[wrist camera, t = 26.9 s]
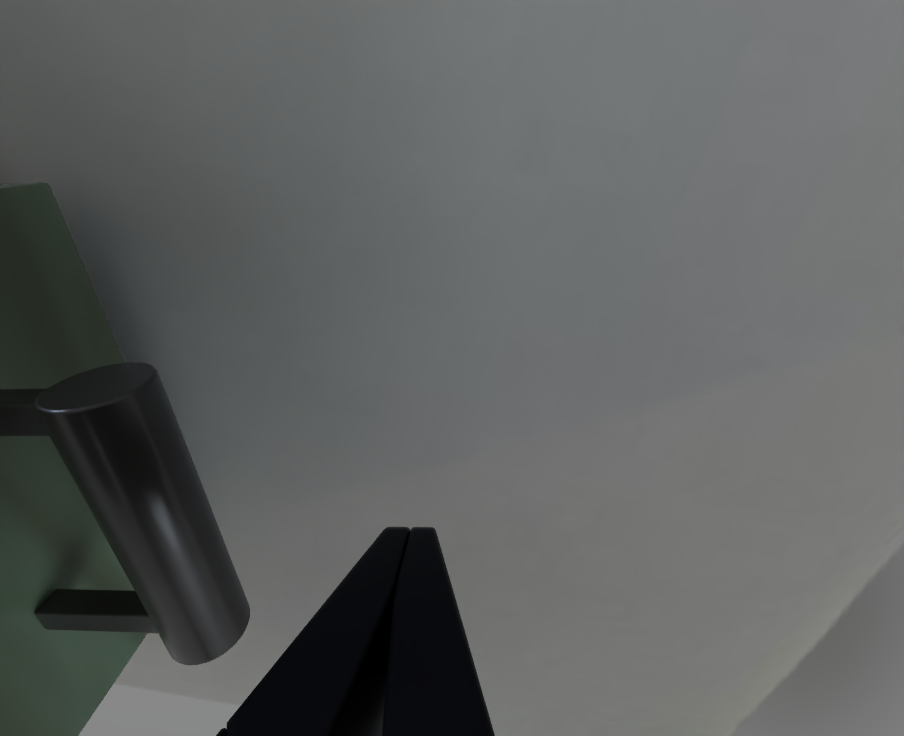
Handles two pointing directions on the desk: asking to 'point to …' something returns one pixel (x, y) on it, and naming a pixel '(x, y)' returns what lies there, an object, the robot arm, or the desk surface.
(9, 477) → the drawer
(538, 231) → the desk surface
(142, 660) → the desk surface
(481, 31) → the desk surface
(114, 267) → the desk surface
